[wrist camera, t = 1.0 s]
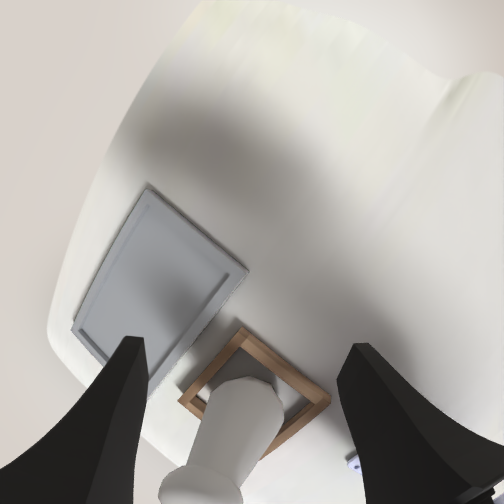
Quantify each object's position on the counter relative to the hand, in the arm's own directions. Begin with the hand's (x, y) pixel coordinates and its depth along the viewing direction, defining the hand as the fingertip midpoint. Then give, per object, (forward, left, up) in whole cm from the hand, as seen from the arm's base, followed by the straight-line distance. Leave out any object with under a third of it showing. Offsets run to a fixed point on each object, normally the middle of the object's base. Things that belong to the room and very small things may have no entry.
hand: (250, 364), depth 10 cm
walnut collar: (-3, +9, -12) cm, 15 cm away
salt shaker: (-3, +9, -12) cm, 15 cm away
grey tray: (+8, +9, -12) cm, 17 cm away
